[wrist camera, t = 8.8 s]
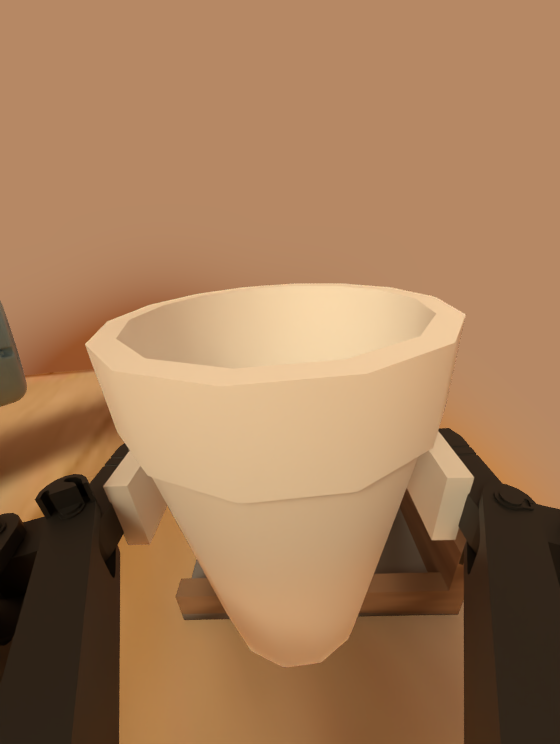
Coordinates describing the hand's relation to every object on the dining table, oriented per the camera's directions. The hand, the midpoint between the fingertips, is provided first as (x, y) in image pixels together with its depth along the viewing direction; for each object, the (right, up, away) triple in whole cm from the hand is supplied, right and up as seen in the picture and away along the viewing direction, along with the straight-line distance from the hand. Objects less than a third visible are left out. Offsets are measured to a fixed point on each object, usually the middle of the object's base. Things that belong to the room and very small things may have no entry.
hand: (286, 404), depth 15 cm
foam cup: (0, -8, -1) cm, 8 cm away
